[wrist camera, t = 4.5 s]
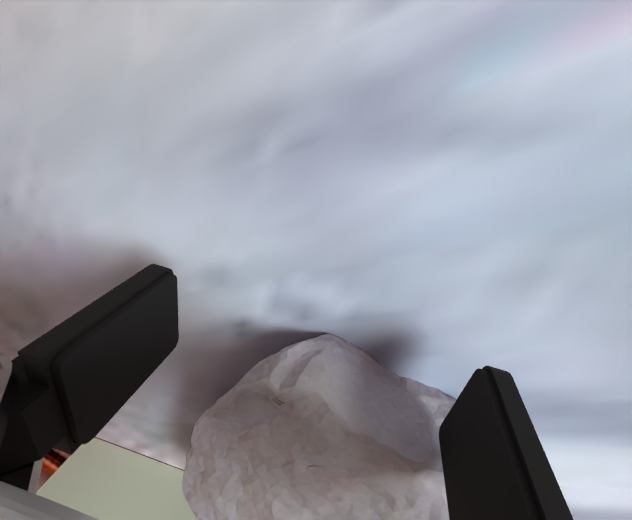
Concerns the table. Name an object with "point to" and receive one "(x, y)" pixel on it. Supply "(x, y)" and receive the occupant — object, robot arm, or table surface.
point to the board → (118, 485)
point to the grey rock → (319, 442)
